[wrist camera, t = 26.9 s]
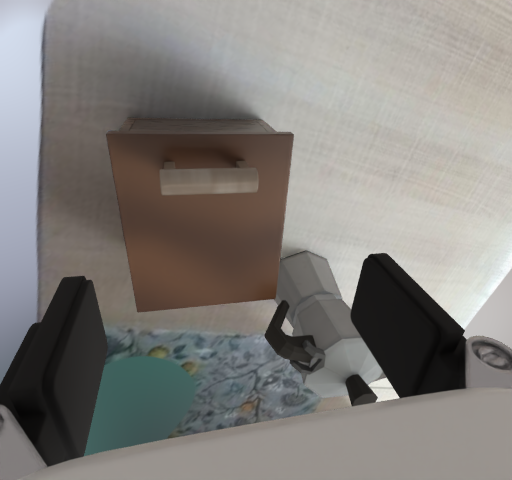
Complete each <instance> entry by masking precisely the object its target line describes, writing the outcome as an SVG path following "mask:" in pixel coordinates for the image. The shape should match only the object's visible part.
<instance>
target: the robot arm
mask: <svg viewBox="0 0 512 480" xmlns="http://www.w3.org/2000/svg"><path fill="white" fill-rule="evenodd" d="M350 317H351V321H352V323H353V325H354V327H355V328H356V330H357V331H358V333H359V334H360V336H361V338H362V339H363V341H364V342H365V344H366V345H367V347H368V349H369V350H370V352H371V353H372V355H373V356H374V358H375V360H376V361H377V363H378V364H379V366H380V367H381V369H382V371H383V372H384V374H385V375H386V377H387V379H388V380H389V382H390V383H391V385H392V386H393V388H394V390H395V391H396V393H397V394H398V396H399V397H400V398H399V399H393V400H387V401H381V402H375V403H369V404H363V405H358V406H352V407H346V408H340V409H334V410H328V411H323V412H317V413H311V414H305V415H300V416H294V417H288V418H283V419H277V420H271V421H266V422H260V423H254V424H249V425H243V426H237V427H232V428H226V429H221V430H215V431H210V432H204V433H199V434H193V435H188V436H182V437H177V438H171V439H165V440H160V441H156V442H150V443H145V444H140V445H136V446H130V447H125V448H120V449H115V450H110V451H105V452H101V453H96V454H92V455H88V456H84V453H85V449H86V444H87V439H88V435H89V431H90V426H91V422H92V417H93V413H94V408H95V404H96V399H97V395H98V390H99V386H100V381H101V377H102V372H103V368H104V364H105V359H106V355H107V339H106V335H105V330H104V326H103V322H102V318H101V314H100V310H99V306H98V302H97V298H96V293H95V289H94V285H93V282H92V280H86V278H85V277H84V276H75V277H64V278H63V279H62V280H61V282H60V284H59V286H58V288H57V290H56V293H55V295H54V297H53V299H52V301H51V303H50V305H49V307H48V309H47V311H46V313H45V315H44V317H43V319H42V321H41V322H39V323H34V324H33V325H32V326H31V327H30V328H29V330H28V332H27V334H26V336H25V338H24V340H23V342H22V344H21V346H20V348H19V350H18V352H17V353H16V355H15V357H14V359H13V361H12V363H11V365H10V367H9V369H8V371H7V373H6V375H5V377H4V379H3V381H2V383H1V384H0V480H512V350H511V349H510V348H509V347H507V346H506V345H504V344H503V343H501V342H499V341H497V340H494V339H492V338H489V337H484V336H473V337H470V338H469V339H467V340H466V338H465V337H464V336H463V333H464V332H465V330H464V329H463V328H462V327H461V326H460V325H459V324H458V323H457V322H456V321H455V320H454V319H453V318H452V317H451V316H450V315H449V314H448V313H447V312H446V311H445V310H444V309H443V308H442V307H440V306H439V305H438V304H437V303H436V302H435V301H434V300H433V299H432V298H431V297H430V296H429V295H428V294H427V293H426V292H425V291H424V290H423V289H422V288H421V287H420V286H419V285H418V284H417V283H416V282H415V281H414V280H413V279H412V278H411V277H410V276H409V275H408V274H407V273H406V272H405V271H404V270H403V269H402V268H401V267H400V266H399V265H398V264H397V263H396V262H395V261H394V260H393V259H392V258H391V257H390V256H389V255H388V254H386V253H379V254H370V255H369V256H368V258H366V259H365V260H364V262H363V266H362V270H361V274H360V278H359V282H358V285H357V289H356V293H355V297H354V301H353V305H352V309H351V314H350ZM83 456H84V457H83Z"/></svg>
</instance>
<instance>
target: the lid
mask: <svg viewBox="0 0 512 480" xmlns="http://www.w3.org/2000/svg"><path fill="white" fill-rule="evenodd" d="M106 137H107V142H108V148H109V154H110V159H111V165H112V171H113V176H114V182H115V188H116V193H117V199H118V205H119V211H120V216H121V222H122V228H123V233H124V239H125V245H126V250H127V256H128V262H129V267H130V273H131V279H132V284H133V290H134V296H135V301H136V307H137V312H147V311H157V310H167V309H177V308H188V307H198V306H208V305H218V304H228V303H238V302H248V301H258V300H268V299H276V292H277V283H278V274H279V265H280V256H281V247H282V238H283V229H284V220H285V211H286V202H287V193H288V184H289V175H290V165H291V156H292V147H293V138H294V134H292V133H291V132H193V131H108V132H107V134H106Z"/></svg>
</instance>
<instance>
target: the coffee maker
mask: <svg viewBox="0 0 512 480" xmlns="http://www.w3.org/2000/svg"><path fill="white" fill-rule="evenodd" d="M274 300H275V301H276V303H277V304H278V307H277V309H276V312H275V314H274V316H273V318H272V320H271V322H270V324H269V327H268V329H267V331H266V333H265V338H266V340H267V341H268V342H269V344H270V345H271V346H272V348H273V349H274V350H275V352H276V353H277V354H278V355H280V356H281V357H283V358H285V359H289V360H290V364H291V365H292V366H293V367H294V368H295V369H297V370H298V371H299V372H300V373H301V375H302V379H303V383H304V385H305V386H306V387H308V388H309V389H310V390H312V391H313V392H314V393H315V394H317V395H318V396H319V397H321V398H328V397H337V396H347V395H349V398H350V401H351V405H352V406H358V405H363V404H369V403H375V402H376V400H377V398H378V397H377V396H376V395H375V393H374V392H373V391H372V390H371V389H370V387H369V386H368V384H370V383H371V382H374V381H377V380H380V379H383V378H386V375H385V374H384V372H383V371H382V369H381V367H380V366H379V364H378V363H377V361H376V360H375V358H374V356H373V355H372V353H371V352H370V350H369V349H368V347H367V345H366V344H365V342H364V341H363V339H362V338H361V336H360V334H359V333H358V331H357V330H356V328H355V327H354V325H353V323H352V321H351V317H350V314H351V309H350V308H349V307H348V306H347V304H346V303H345V302H344V301H343V300H342V296H341V293H340V291H339V289H338V286H337V284H336V281H335V279H334V276H333V274H332V271H331V269H330V266H329V264H328V261H327V259H325V258H322V257H320V256H317V255H315V254H313V253H310V252H308V251H304V252H302V253H299V254H296V255H293V256H290V257H287V258H284V259H281V261H280V265H279V274H278V283H277V292H276V299H274ZM285 317H286V318H287V319H288V321H289V322H290V324H291V325H292V327H293V328H294V330H293V333H292V335H293V337H291V336H288V335H286V334H285V333H284V332H283V331H282V329H281V326H282V324H283V321H284V319H285Z"/></svg>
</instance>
